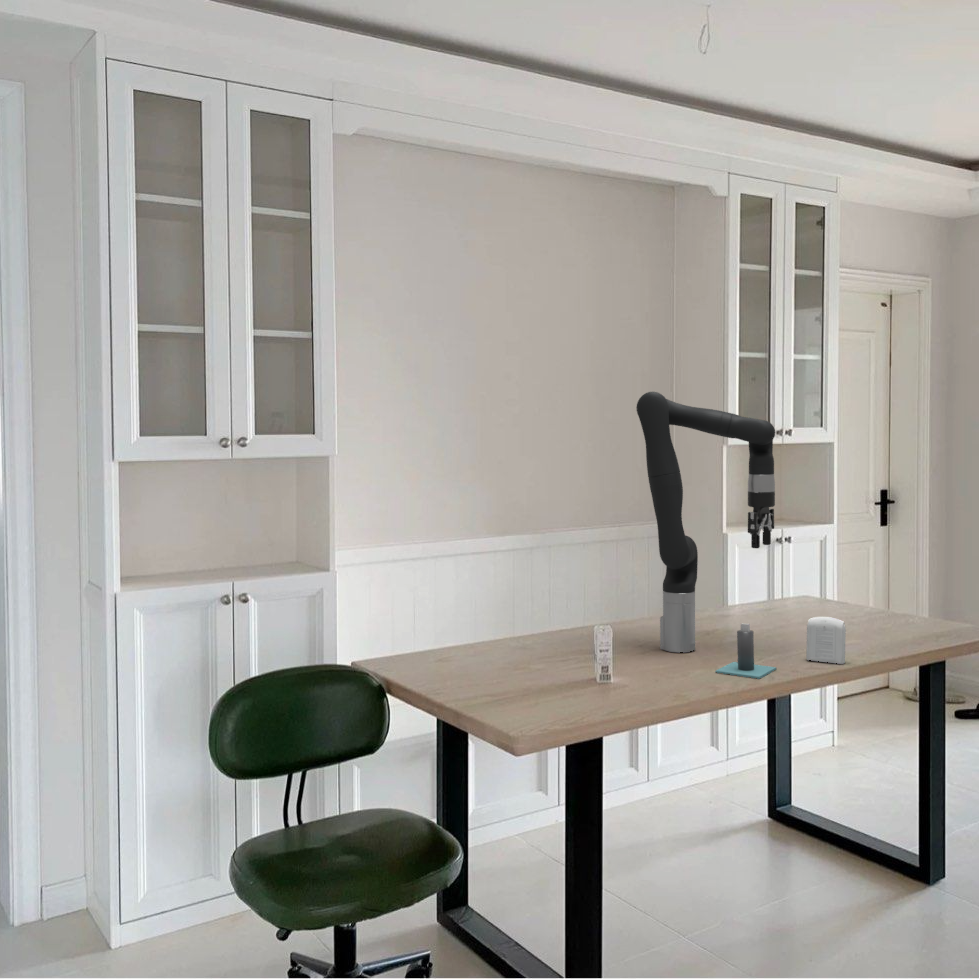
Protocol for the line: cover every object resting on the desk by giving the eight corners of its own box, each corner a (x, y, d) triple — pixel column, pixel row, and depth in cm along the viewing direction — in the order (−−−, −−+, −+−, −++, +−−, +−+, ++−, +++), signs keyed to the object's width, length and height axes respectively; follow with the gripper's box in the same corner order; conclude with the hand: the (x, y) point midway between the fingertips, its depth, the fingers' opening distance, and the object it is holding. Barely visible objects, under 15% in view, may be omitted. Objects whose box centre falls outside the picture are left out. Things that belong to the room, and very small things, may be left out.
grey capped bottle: (735, 669, 271) (734, 624, 271) (742, 666, 275) (741, 621, 274) (750, 671, 269) (749, 625, 268) (756, 668, 272) (755, 623, 271)
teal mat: (715, 672, 270) (715, 670, 270) (733, 663, 280) (733, 661, 280) (759, 679, 263) (759, 676, 263) (776, 669, 273) (776, 667, 273)
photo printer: (846, 661, 281) (847, 617, 280) (843, 665, 277) (844, 620, 276) (808, 658, 286) (808, 614, 285) (804, 661, 282) (805, 616, 281)
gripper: (758, 488, 301) (757, 543, 302) (739, 491, 290) (739, 548, 291) (783, 488, 297) (782, 544, 298) (764, 492, 285) (764, 550, 286)
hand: (761, 546), depth 294 cm, fingers open, 8 cm apart
